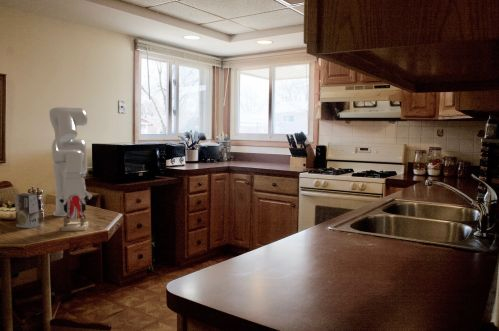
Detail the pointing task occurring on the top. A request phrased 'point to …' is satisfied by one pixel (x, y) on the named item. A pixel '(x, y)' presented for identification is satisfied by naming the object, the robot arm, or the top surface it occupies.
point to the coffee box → (27, 210)
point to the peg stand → (75, 224)
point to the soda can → (74, 207)
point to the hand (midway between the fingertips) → (74, 211)
